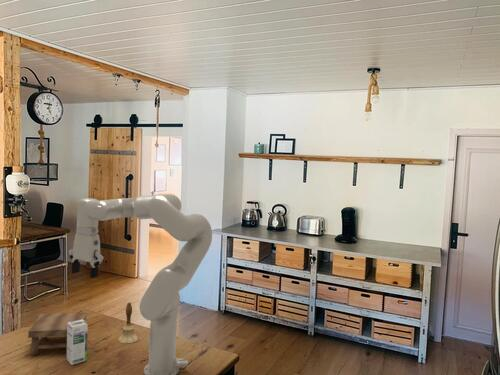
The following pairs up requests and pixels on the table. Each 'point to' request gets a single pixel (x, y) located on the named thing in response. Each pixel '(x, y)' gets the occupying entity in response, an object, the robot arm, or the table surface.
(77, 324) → the syrup box
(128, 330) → the hand bell
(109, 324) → the table surface
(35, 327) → the tan broad flat fixture
